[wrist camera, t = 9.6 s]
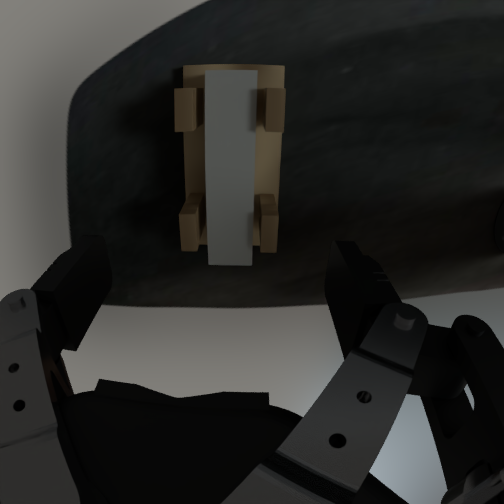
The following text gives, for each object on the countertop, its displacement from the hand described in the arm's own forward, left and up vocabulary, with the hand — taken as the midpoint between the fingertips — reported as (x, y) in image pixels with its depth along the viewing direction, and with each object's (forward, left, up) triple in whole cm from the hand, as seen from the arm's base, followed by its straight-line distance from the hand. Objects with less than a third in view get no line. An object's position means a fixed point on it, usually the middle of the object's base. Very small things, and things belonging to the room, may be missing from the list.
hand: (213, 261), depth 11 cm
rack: (0, 0, -18) cm, 18 cm away
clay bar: (0, 0, -17) cm, 17 cm away
